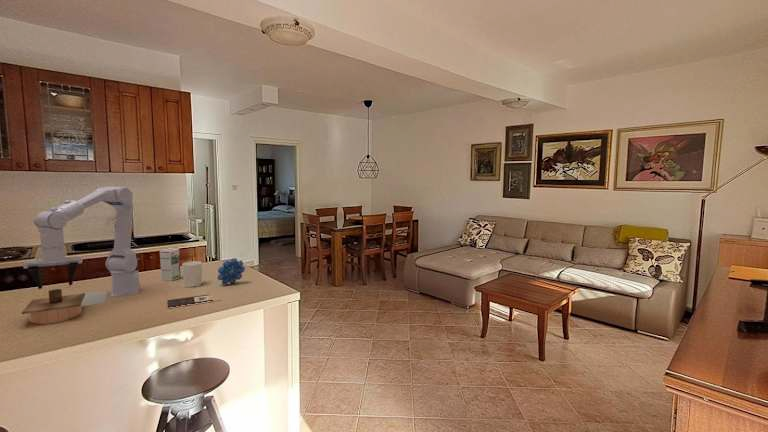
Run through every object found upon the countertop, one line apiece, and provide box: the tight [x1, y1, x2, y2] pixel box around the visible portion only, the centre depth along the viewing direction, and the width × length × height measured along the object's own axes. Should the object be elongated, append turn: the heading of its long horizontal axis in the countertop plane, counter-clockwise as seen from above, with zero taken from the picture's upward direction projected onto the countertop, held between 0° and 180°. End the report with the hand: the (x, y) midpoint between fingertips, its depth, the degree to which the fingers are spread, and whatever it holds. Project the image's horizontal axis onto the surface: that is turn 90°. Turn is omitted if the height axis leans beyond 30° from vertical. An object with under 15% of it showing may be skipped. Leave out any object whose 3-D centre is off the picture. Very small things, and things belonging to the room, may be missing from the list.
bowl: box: [28, 303, 83, 325], centre depth 120 cm, size 13×13×4 cm
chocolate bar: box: [167, 294, 213, 309], centre depth 138 cm, size 9×1×18 cm
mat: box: [82, 290, 108, 307], centre depth 136 cm, size 17×17×1 cm
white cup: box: [181, 260, 203, 288], centre depth 159 cm, size 8×8×10 cm
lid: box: [21, 288, 86, 315], centre depth 120 cm, size 14×14×5 cm
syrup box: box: [159, 247, 182, 282], centre depth 167 cm, size 6×6×14 cm
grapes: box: [216, 257, 246, 285], centre depth 162 cm, size 12×7×12 cm, turn 122°
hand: (55, 286), depth 121 cm, fingers open, 7 cm apart
